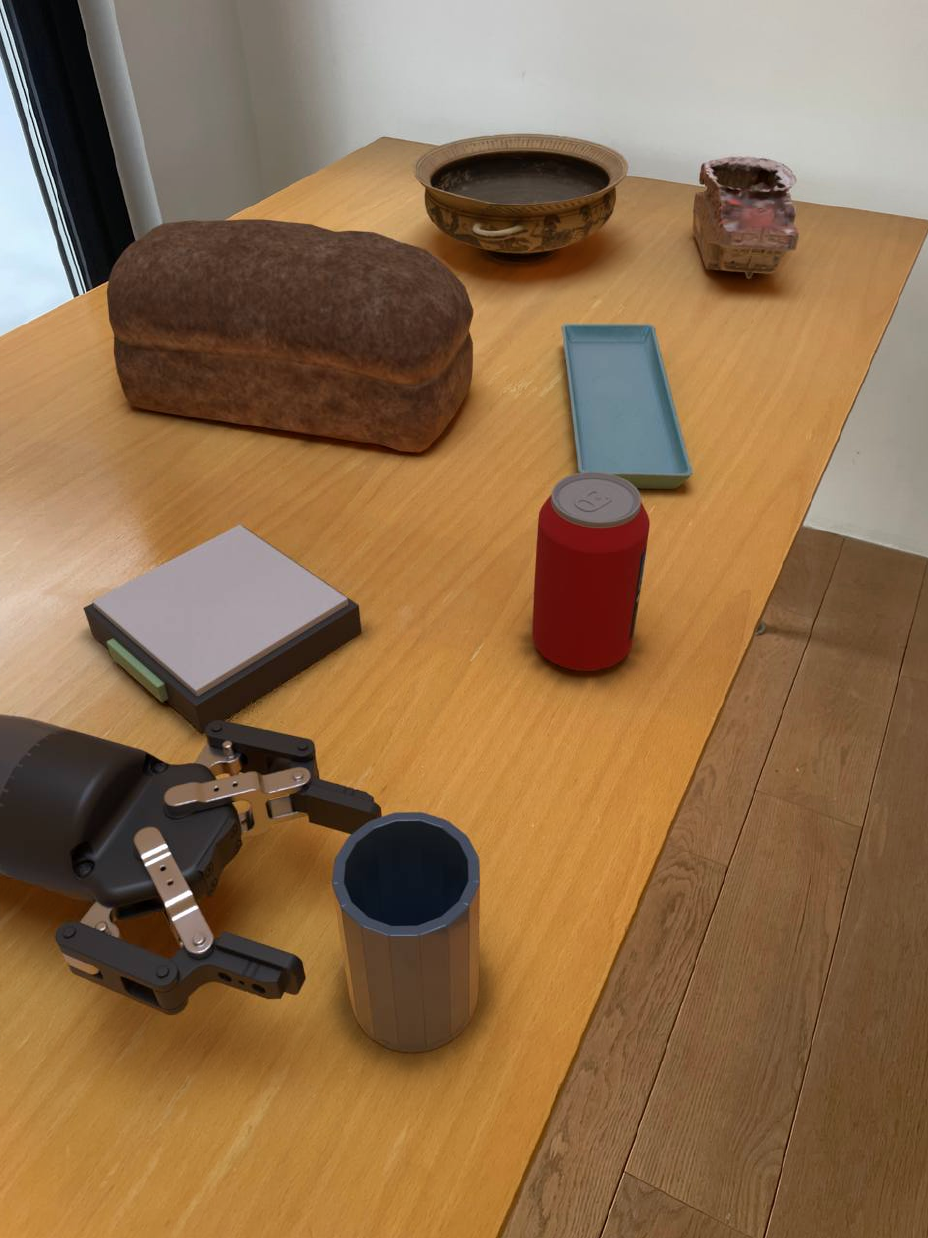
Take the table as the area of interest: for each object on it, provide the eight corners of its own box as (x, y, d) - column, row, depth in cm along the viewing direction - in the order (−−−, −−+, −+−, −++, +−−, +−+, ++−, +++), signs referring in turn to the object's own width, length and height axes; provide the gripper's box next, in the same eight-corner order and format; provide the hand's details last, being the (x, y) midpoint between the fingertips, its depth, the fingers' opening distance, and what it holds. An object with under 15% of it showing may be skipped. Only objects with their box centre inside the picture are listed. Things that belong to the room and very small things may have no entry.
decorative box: (799, 237, 123) (817, 152, 116) (815, 306, 108) (837, 214, 101) (689, 231, 124) (700, 147, 118) (690, 299, 109) (704, 208, 103)
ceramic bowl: (451, 200, 133) (450, 118, 126) (633, 215, 128) (642, 131, 122) (383, 293, 111) (377, 199, 104) (599, 315, 106) (608, 219, 100)
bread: (439, 466, 84) (435, 282, 74) (105, 410, 92) (59, 235, 81) (487, 385, 95) (490, 214, 84) (184, 340, 102) (152, 177, 92)
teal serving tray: (690, 496, 81) (695, 469, 79) (576, 495, 81) (579, 469, 80) (651, 347, 101) (654, 323, 99) (559, 346, 101) (561, 323, 99)
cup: (412, 1081, 46) (403, 965, 39) (324, 992, 49) (302, 871, 43) (504, 989, 49) (510, 869, 43) (416, 912, 53) (409, 789, 46)
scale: (195, 738, 62) (186, 703, 60) (85, 639, 68) (73, 604, 66) (361, 632, 69) (358, 598, 67) (247, 551, 76) (241, 518, 74)
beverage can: (652, 645, 68) (676, 497, 60) (585, 695, 64) (602, 544, 56) (577, 598, 71) (590, 453, 64) (510, 643, 68) (515, 494, 60)
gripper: (-89, 873, 42) (257, 992, 38) (108, 653, 52) (398, 728, 48) (-30, 967, 47) (281, 1081, 43) (139, 749, 57) (404, 825, 53)
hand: (342, 894), depth 46 cm, fingers open, 8 cm apart
